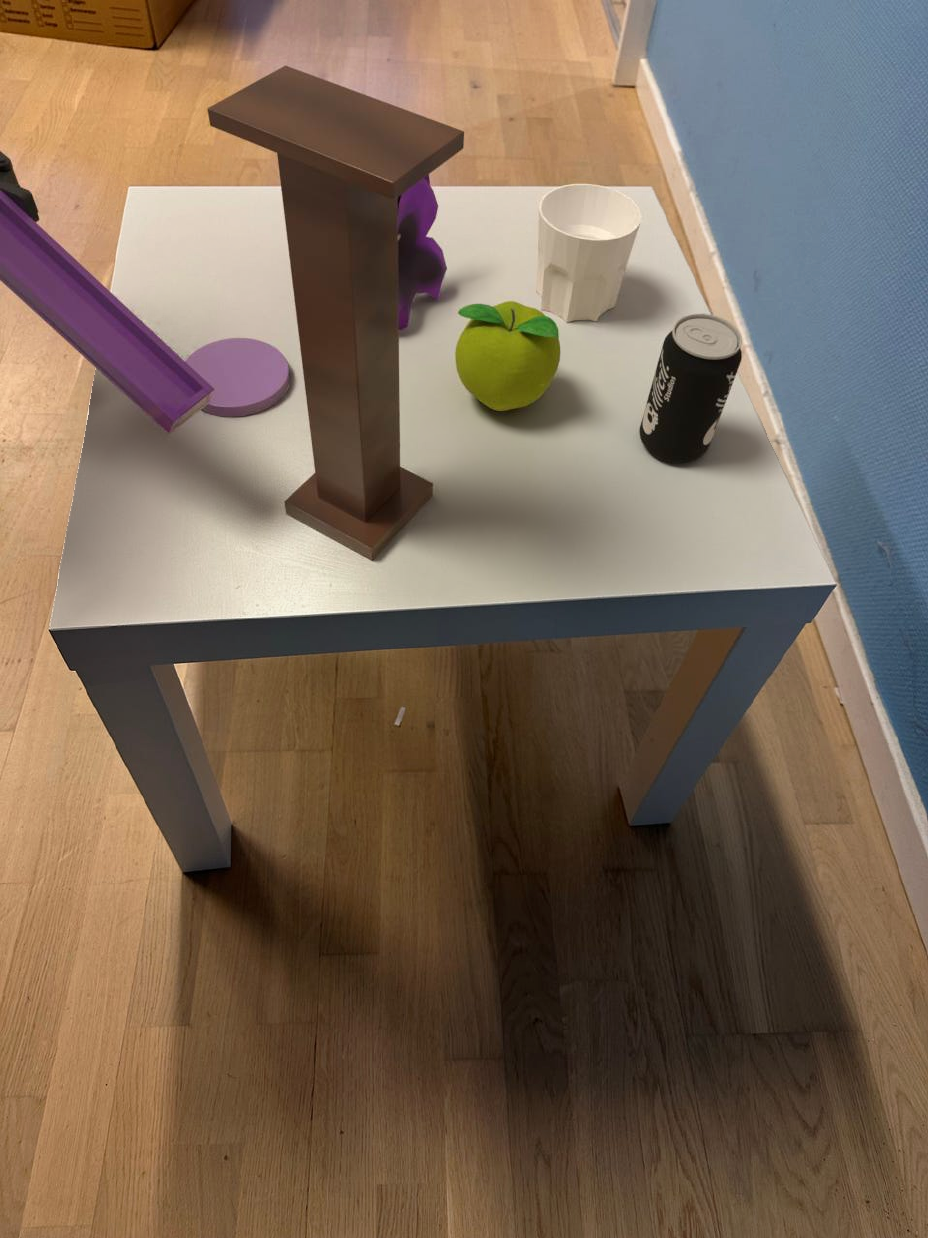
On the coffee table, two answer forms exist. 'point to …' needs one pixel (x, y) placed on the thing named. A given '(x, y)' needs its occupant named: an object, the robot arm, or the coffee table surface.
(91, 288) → the purple dish
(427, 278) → the flower
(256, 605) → the coffee table surface
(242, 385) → the lilac plate
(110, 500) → the coffee table surface
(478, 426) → the coffee table surface
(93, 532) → the coffee table surface
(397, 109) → the brown wooden pedestal
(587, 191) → the cup
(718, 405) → the beverage can
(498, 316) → the fruit
